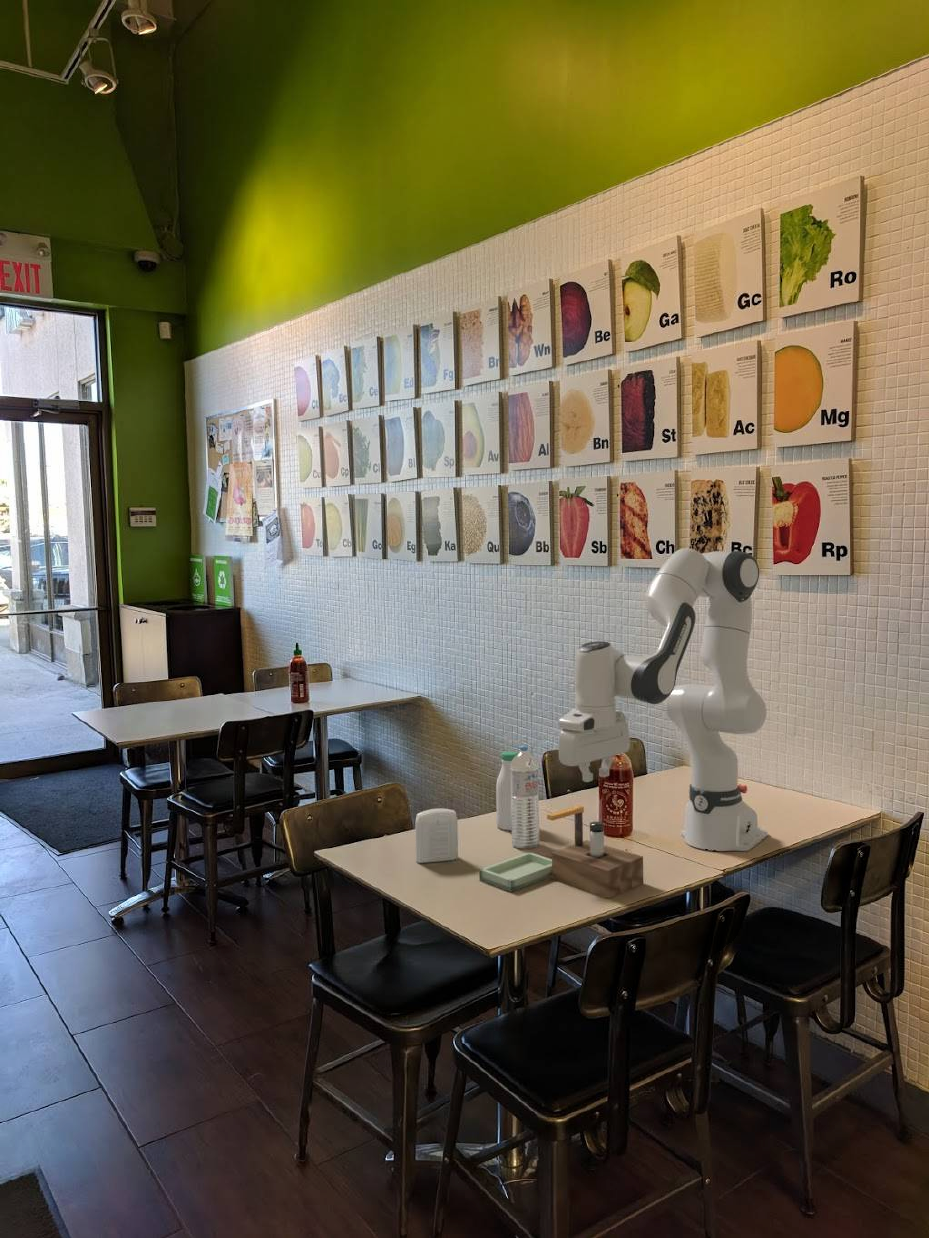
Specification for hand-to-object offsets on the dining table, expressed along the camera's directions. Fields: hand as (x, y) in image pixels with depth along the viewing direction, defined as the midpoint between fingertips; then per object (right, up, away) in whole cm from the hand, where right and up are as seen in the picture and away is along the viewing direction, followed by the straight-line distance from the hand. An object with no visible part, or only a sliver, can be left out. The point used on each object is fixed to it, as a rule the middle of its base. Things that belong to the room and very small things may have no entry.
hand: (596, 778), depth 200 cm
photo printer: (-35, -23, +18) cm, 46 cm away
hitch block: (+1, -23, +2) cm, 23 cm away
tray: (-16, -23, +6) cm, 29 cm away
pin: (+1, -23, +2) cm, 23 cm away
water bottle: (-14, -21, +27) cm, 37 cm away
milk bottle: (-16, -20, +42) cm, 49 cm away
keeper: (-6, -9, +5) cm, 12 cm away
